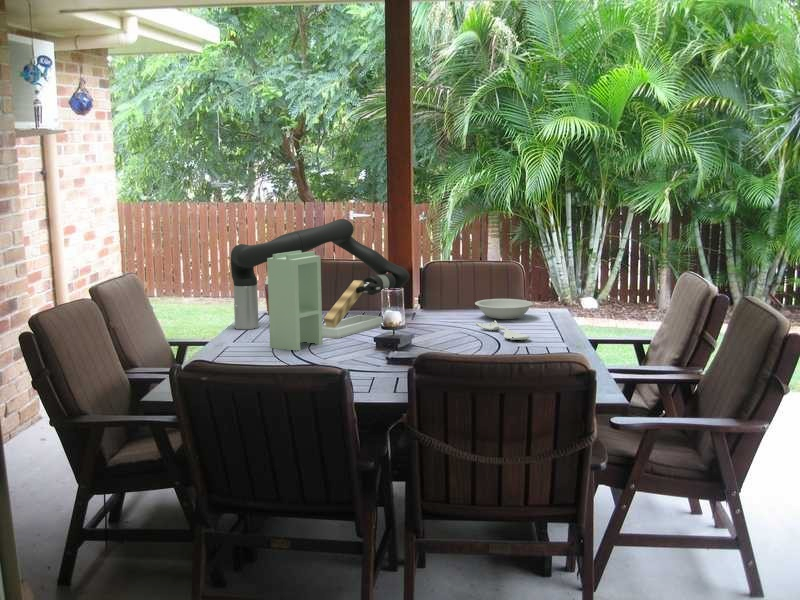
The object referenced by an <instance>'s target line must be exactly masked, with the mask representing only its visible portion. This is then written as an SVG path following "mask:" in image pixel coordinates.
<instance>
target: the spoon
mask: <svg viewBox="0 0 800 600" xmlns="http://www.w3.org/2000/svg"><path fill="white" fill-rule="evenodd" d="M475 325H476V326H478V327H480V328H482V329H485V330H487V329H490V330H489V331H492V330H493V331H496V330H503V331H504V333H503V335H502V336H503V338H504V339H507V340H508V339H511V340H510V341H512V340H521V341H525V340H528V339H529V338H531V336H530V335H527V334H523V333H519V332H516V331H513V330H510V329H509V328H507V326H505V325H504V326H503V325H500V324H499V323H498V322H497V321H496V320H494V322H493V321H491V322H488V323H486V322H485V324H484V323H483V322H477V321H475ZM512 337H515V338H512Z"/></svg>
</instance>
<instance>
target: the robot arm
mask: <svg viewBox="0 0 800 600" xmlns="http://www.w3.org/2000/svg"><path fill="white" fill-rule="evenodd" d="M354 230H355V228H354V225H353V223H352V222H351V221H350V220H348V219H343V218H339V219H338V218H337V219H336V220H333V221H330V222H328V223H326V224H323V225H319V226H315V227H309V228H305V229H300V230H296V231H292V232H291V231H290V232H287V233H284V234H282V235H280V236H277V237H275V238H273V239H272V240H270V241H268V242H264V243H263V242H262V243H259V244H244V243H241V244H240V243H238V244H237V245H235V246H233V248H232V249H231V251H230V270H231V272H230V273H231V278H232V281H233V300H234V301H233V310H234V328H236V329H235V330H255V329H258V328H259V326H260V324H259V323H260V322H259V300H258V298H259V297H258V278H257V276H256V274H255V269H254V268H255V267H256V266H259V265H261V264H264V263H267V258H272V257H273V254H278V253H285V252H292V251H299V250H300V251H302V253H304V252H310V251H312V250H313V249H316V248H317V247H319V246H321V245H324V244H327V243H330V242H331V243H332V244H334V245H336V246H338V247H339V248H340V249H343V250H345V251H346V252H347V253H349V254H351V255H352V256H354V257H355V258H357V259H359V260H360V261H361V262H362V263H363V264H365V265H366V266H367V267H369V269H371V270H372V271H373V272H375V273H376V274H374V275H371V276H367V277H365V278H364V279H363V280H362V281H363V283H364V286H363V287H362V286H361V287H357V288H356V293H361V292H363V293H365V294H367V295H369V296H375V295H377V294H381V290H382V289H385V288H388V289H390V288H400V289H401V288H403V287H404V286H405V284H406V283H407V282H408V281H409V280H410V278H411V277H410V273H409V272H408V270H407V269H406V268H404V267H402V266H400V265H397V264H395V263H393V262H391V261H389V260H388V259H386V258H385V257H384V256H383V255H382V254H380V252H378V251H377V250H375V249H373V248H371V247H368V246H366V245H364V244H362V243H361V242H359V241H357V240H356V239H355V238H354V237H353V234H354ZM350 285H351V283H349V284H348V286H346V287H345V288H346V290H347V288H348V287H349V286H350ZM346 290H345V291H346ZM254 328H255V329H254Z"/></svg>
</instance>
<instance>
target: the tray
mask: <svg viewBox="0 0 800 600" xmlns="http://www.w3.org/2000/svg"><path fill="white" fill-rule="evenodd" d="M382 317H383V316H376V315H367V314H358V315H354V316H353V315H352V316H350V317H345V318H342V320H341V321H340V322H339V324H338V325H337V326H336V327H327V326H326V323H324V324H323V323H322V338H326V337H328V339H335V338H336V339H335V340H337V339H338V338H339V339H342V338H344V337H345V338H346V337H348V335H349V336H351V334H352V335H356V334H358V332H359V333H362V332H365V330H366V331H370V330H372V328H373V329H376V328H379V326H380V327H382V326H381V323H382ZM355 333H356V334H355ZM341 337H342V338H341ZM339 339H338V340H339Z"/></svg>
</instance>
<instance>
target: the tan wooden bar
mask: <svg viewBox="0 0 800 600" xmlns="http://www.w3.org/2000/svg"><path fill="white" fill-rule="evenodd" d="M363 281H364V280H359V279H358V280H356V279H354V280H353V281H352V282H351V283H350V284H351V285H350V286H349V287H348V286H347V287H348V288H347V287H346V288H347V290H345V291H344V292H343V293H342V295H341V296H340V297H339V299H338V300H337V301H336V302H335V304H333V306H332V307H331V308H330V310H329V311H328V312H327V313H326V315H325V316H324V317H322V320H323V321H324V324H326V326H327V327H336V326H337V325H338V324H339V322H340V321H341V320H342V319H344V318H345V316H346V315H347V313H348V312H349V311H350V309H352V307H353V305H354V304H355V303H356V302H357V301H358V299H359V298H360V297H361V295H362V294H363V293H364V292H361V293H356V288H357V287H361V286H362V287H363V286H364V283H363Z"/></svg>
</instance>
